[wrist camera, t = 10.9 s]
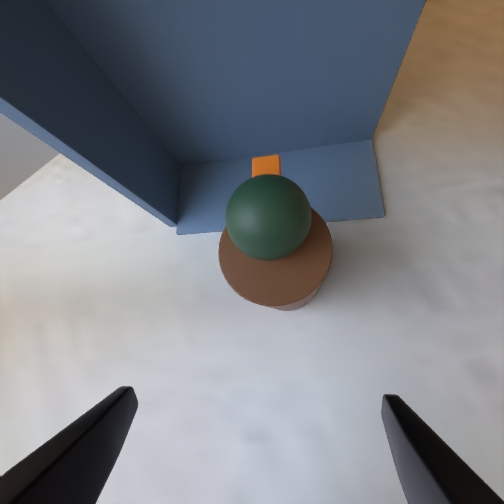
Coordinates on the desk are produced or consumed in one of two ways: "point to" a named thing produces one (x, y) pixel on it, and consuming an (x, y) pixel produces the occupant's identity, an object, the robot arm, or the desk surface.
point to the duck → (273, 240)
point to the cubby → (208, 95)
